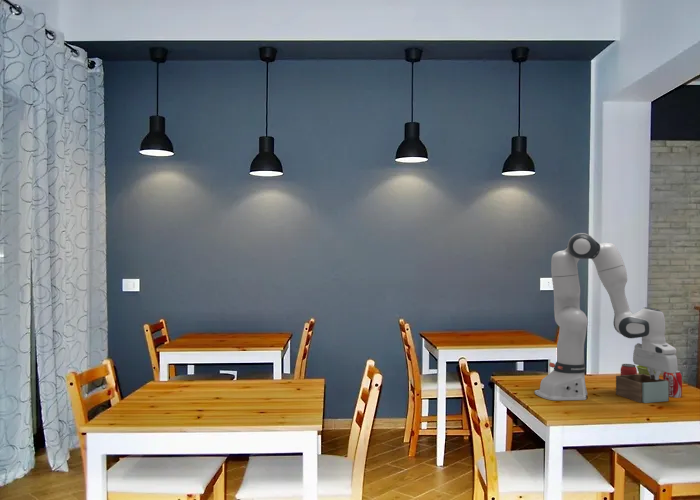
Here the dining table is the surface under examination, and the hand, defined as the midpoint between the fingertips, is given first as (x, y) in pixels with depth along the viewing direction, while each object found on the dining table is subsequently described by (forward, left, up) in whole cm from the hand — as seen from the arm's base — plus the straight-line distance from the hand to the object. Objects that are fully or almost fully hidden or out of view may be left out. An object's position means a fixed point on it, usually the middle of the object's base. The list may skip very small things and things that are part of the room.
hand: (654, 379), depth 225 cm
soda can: (+13, +3, -10) cm, 16 cm away
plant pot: (+20, +24, -10) cm, 33 cm away
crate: (-2, +4, -10) cm, 11 cm away
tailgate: (-2, -2, -9) cm, 9 cm away
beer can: (+3, +17, -10) cm, 20 cm away
